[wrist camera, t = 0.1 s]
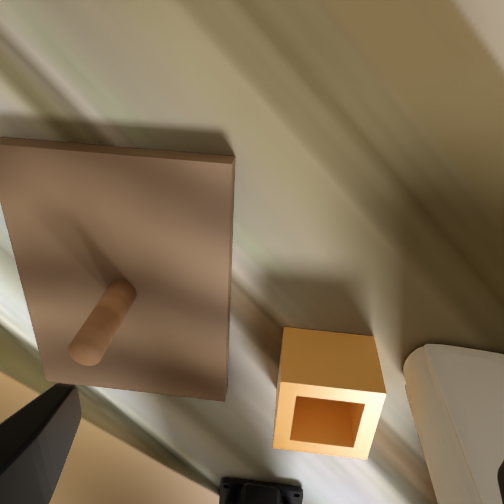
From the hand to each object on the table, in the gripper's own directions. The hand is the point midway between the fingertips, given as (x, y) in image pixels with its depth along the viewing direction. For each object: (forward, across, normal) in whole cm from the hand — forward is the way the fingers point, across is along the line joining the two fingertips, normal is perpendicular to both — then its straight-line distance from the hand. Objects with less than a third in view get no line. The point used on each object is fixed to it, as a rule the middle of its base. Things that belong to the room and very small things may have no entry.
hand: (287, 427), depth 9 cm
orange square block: (+15, -3, +12) cm, 19 cm away
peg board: (+14, +9, +7) cm, 18 cm away
